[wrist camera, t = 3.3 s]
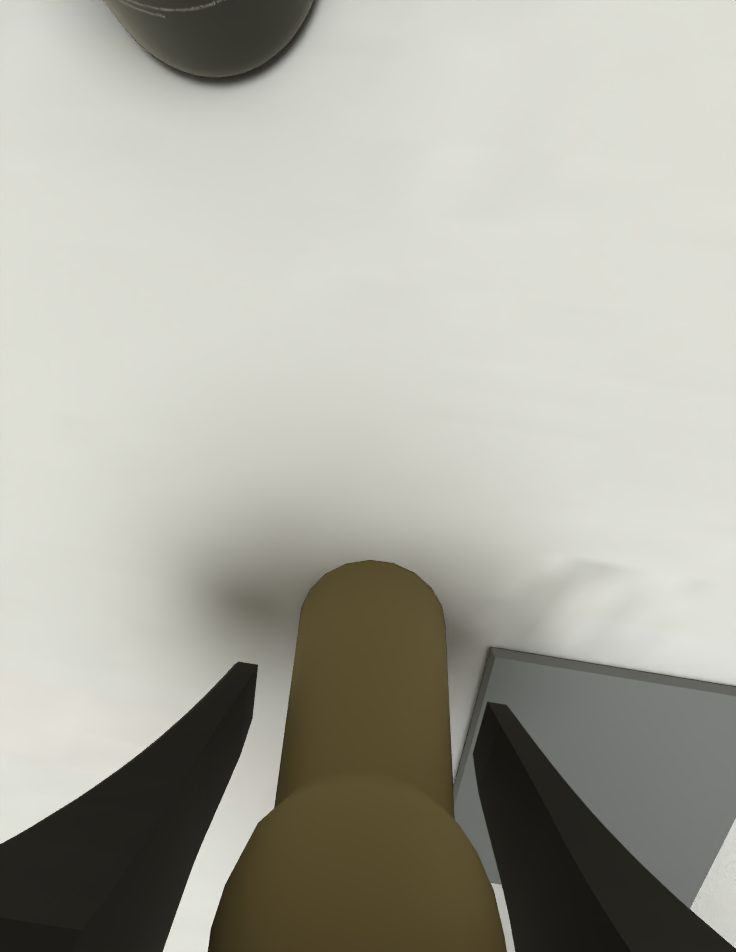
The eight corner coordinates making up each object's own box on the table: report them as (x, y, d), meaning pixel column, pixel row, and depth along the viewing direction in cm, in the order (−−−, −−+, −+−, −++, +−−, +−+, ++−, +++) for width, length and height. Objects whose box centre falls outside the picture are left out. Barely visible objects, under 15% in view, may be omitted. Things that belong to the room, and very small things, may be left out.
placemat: (677, 897, 19) (686, 914, 18) (434, 858, 19) (435, 873, 18) (777, 693, 16) (792, 705, 15) (491, 647, 16) (495, 657, 15)
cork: (272, 642, 16) (61, 1136, 6) (351, 532, 15) (274, 900, 4) (389, 712, 17) (402, 1281, 6) (475, 612, 16) (679, 1109, 5)
